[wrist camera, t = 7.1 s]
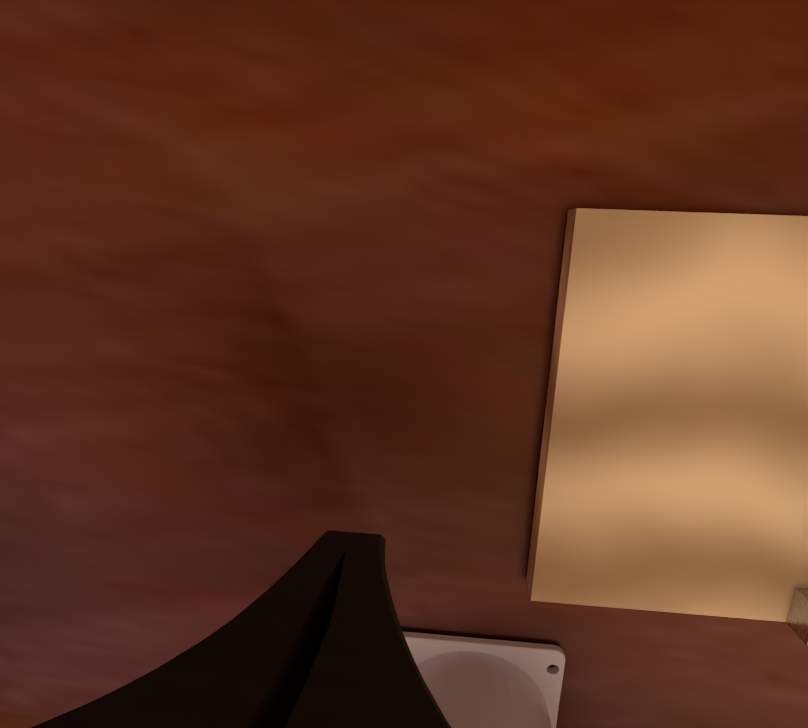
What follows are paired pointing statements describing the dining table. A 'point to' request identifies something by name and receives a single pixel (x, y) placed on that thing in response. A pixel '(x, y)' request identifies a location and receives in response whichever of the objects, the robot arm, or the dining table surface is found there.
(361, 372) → the dining table surface
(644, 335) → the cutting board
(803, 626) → the tongs fixed
